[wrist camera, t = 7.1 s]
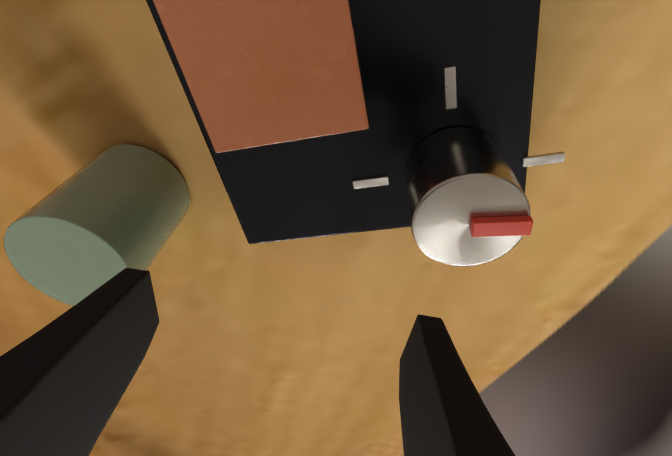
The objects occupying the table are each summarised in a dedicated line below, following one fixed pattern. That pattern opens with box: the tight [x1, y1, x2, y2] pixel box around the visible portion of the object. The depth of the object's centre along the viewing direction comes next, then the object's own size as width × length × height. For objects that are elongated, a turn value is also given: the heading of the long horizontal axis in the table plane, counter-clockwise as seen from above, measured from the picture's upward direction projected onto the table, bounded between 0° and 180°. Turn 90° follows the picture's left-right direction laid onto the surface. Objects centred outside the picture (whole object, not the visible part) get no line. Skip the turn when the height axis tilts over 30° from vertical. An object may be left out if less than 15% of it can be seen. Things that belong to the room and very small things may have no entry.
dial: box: [406, 127, 533, 266], centre depth 14 cm, size 4×4×4 cm
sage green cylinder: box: [4, 144, 189, 306], centre depth 18 cm, size 5×5×6 cm
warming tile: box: [153, 0, 369, 153], centre depth 13 cm, size 6×6×1 cm
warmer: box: [146, 0, 565, 244], centre depth 15 cm, size 12×13×3 cm
